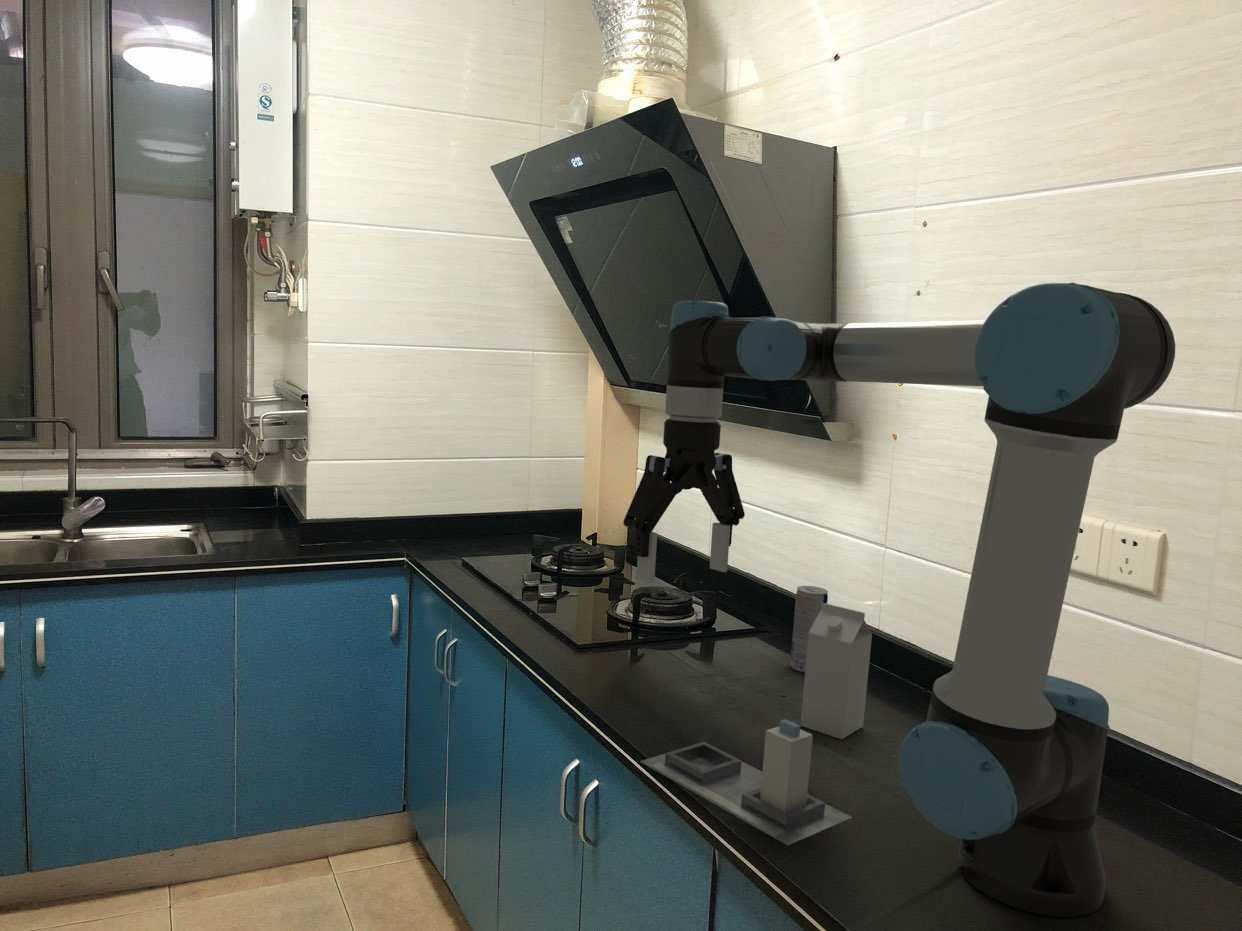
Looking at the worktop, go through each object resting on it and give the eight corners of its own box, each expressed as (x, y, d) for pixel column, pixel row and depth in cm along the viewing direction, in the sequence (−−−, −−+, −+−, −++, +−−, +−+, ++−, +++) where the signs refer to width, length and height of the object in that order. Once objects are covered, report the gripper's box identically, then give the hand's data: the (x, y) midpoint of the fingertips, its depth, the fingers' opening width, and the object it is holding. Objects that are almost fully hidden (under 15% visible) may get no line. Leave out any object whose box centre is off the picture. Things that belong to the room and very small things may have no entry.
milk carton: (821, 714, 154) (832, 598, 151) (863, 728, 149) (874, 608, 147) (799, 726, 148) (810, 606, 146) (842, 740, 144) (854, 617, 141)
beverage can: (821, 676, 172) (828, 594, 170) (789, 672, 173) (796, 590, 171) (821, 666, 178) (828, 586, 176) (790, 662, 179) (797, 583, 177)
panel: (851, 824, 118) (853, 805, 118) (787, 853, 110) (789, 832, 110) (702, 748, 138) (703, 731, 138) (639, 768, 130) (640, 750, 130)
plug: (805, 812, 118) (813, 725, 117) (784, 821, 116) (792, 732, 114) (780, 799, 121) (788, 714, 120) (759, 807, 119) (766, 720, 118)
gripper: (737, 416, 139) (727, 560, 141) (602, 416, 123) (593, 579, 125) (776, 421, 133) (765, 571, 136) (640, 421, 117) (630, 592, 120)
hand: (683, 575), depth 131 cm, fingers open, 13 cm apart
